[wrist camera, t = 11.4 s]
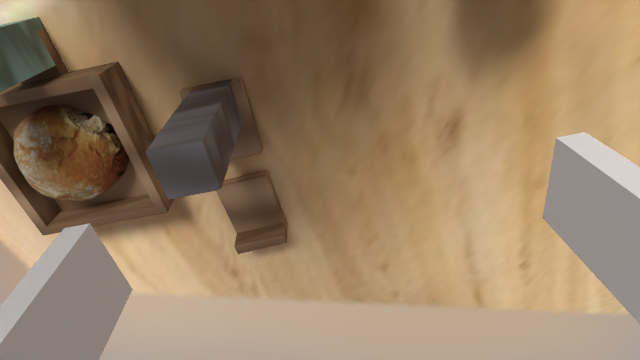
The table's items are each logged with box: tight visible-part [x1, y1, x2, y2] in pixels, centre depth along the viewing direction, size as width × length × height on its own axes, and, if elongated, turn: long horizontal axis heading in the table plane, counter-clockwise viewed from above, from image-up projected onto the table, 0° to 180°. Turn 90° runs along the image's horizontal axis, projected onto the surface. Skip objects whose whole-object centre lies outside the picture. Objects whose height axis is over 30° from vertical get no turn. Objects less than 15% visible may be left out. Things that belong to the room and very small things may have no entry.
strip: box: [216, 170, 287, 254], centre depth 44 cm, size 8×6×4 cm
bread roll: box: [13, 104, 129, 201], centre depth 38 cm, size 10×10×8 cm
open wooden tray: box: [0, 17, 174, 235], centre depth 33 cm, size 20×14×14 cm
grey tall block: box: [145, 77, 263, 199], centre depth 34 cm, size 8×6×14 cm
